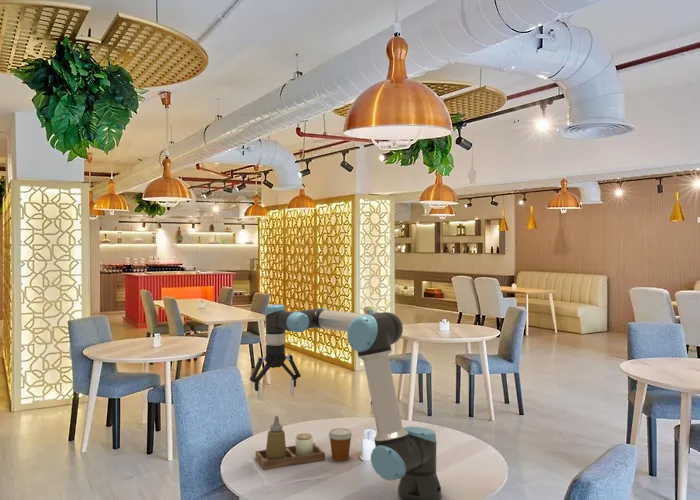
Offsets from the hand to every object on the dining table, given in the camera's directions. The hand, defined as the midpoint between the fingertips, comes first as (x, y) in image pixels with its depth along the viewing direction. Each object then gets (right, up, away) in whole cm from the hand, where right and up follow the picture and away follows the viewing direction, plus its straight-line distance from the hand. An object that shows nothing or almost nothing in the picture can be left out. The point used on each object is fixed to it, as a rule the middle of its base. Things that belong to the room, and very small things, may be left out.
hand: (275, 397), depth 236 cm
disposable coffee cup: (+26, -27, +4) cm, 37 cm away
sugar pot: (+11, -26, +5) cm, 28 cm away
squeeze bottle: (0, -26, 0) cm, 26 cm away
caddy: (+5, -27, +3) cm, 27 cm away
